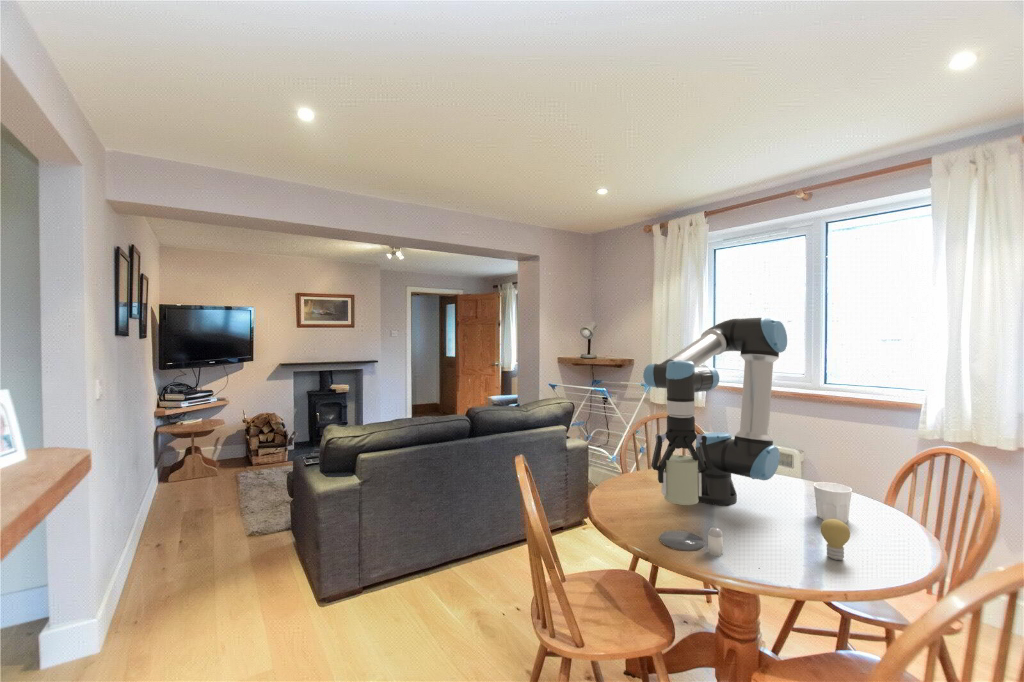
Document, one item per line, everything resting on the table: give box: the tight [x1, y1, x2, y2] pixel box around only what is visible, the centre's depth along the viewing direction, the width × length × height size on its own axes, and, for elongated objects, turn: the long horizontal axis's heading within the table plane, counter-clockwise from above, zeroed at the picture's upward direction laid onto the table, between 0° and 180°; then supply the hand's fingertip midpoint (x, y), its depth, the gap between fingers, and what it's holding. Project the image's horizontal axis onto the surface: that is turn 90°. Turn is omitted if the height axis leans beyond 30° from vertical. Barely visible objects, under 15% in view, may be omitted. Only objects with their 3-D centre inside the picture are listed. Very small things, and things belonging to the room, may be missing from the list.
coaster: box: [659, 530, 705, 552], centre depth 135 cm, size 12×12×1 cm
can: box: [663, 454, 700, 506], centre depth 135 cm, size 9×9×12 cm
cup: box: [813, 481, 853, 524], centre depth 150 cm, size 10×10×10 cm
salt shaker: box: [707, 527, 724, 557], centre depth 127 cm, size 4×4×7 cm
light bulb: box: [819, 519, 851, 561], centre depth 124 cm, size 6×6×10 cm
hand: (681, 494), depth 135 cm, fingers closed on can, 9 cm apart
